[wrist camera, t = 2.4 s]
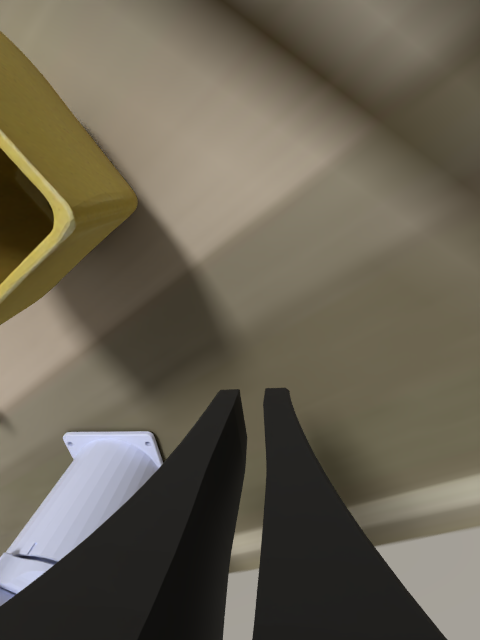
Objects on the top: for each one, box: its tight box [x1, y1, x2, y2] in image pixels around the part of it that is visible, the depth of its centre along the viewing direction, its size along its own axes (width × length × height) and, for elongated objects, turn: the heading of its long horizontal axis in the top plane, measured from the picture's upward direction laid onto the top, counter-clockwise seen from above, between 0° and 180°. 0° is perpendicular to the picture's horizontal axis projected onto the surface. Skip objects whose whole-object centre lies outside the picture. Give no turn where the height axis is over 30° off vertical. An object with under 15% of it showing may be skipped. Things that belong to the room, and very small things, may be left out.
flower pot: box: [0, 31, 138, 325], centre depth 12 cm, size 9×9×9 cm
